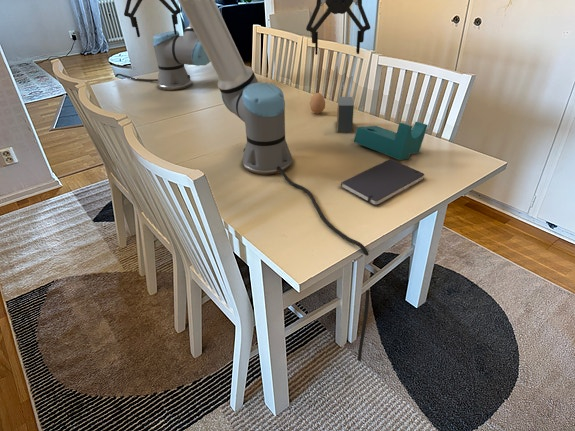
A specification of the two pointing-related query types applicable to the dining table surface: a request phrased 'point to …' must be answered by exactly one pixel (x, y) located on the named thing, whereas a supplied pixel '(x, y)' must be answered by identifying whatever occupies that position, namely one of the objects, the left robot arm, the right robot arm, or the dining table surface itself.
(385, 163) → the notebook
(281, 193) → the dining table surface
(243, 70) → the right robot arm
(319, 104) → the egg
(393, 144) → the teal l-shaped bracket
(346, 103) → the brick
